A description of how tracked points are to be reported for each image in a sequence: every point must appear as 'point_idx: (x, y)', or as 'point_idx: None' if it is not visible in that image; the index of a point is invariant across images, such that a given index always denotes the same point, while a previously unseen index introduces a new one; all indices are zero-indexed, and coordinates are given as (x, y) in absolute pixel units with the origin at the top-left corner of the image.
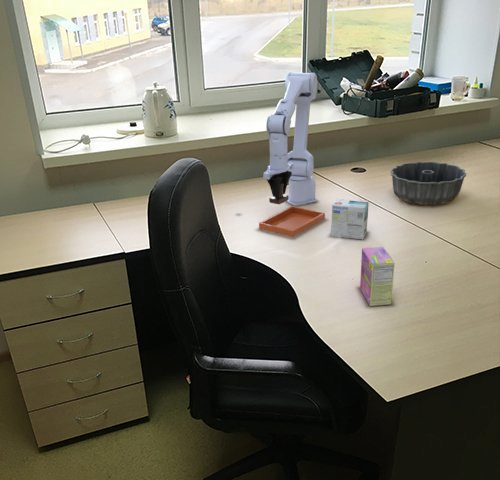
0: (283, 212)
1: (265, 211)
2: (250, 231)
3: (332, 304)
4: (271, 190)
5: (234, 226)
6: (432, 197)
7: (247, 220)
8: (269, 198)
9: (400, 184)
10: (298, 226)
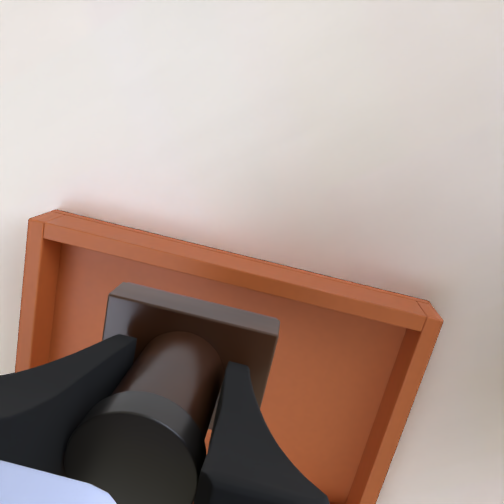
0: (299, 300)
1: (405, 102)
2: (13, 165)
3: None
4: (77, 354)
5: (38, 12)
6: None
7: (179, 51)
8: (108, 295)
9: None
10: None
